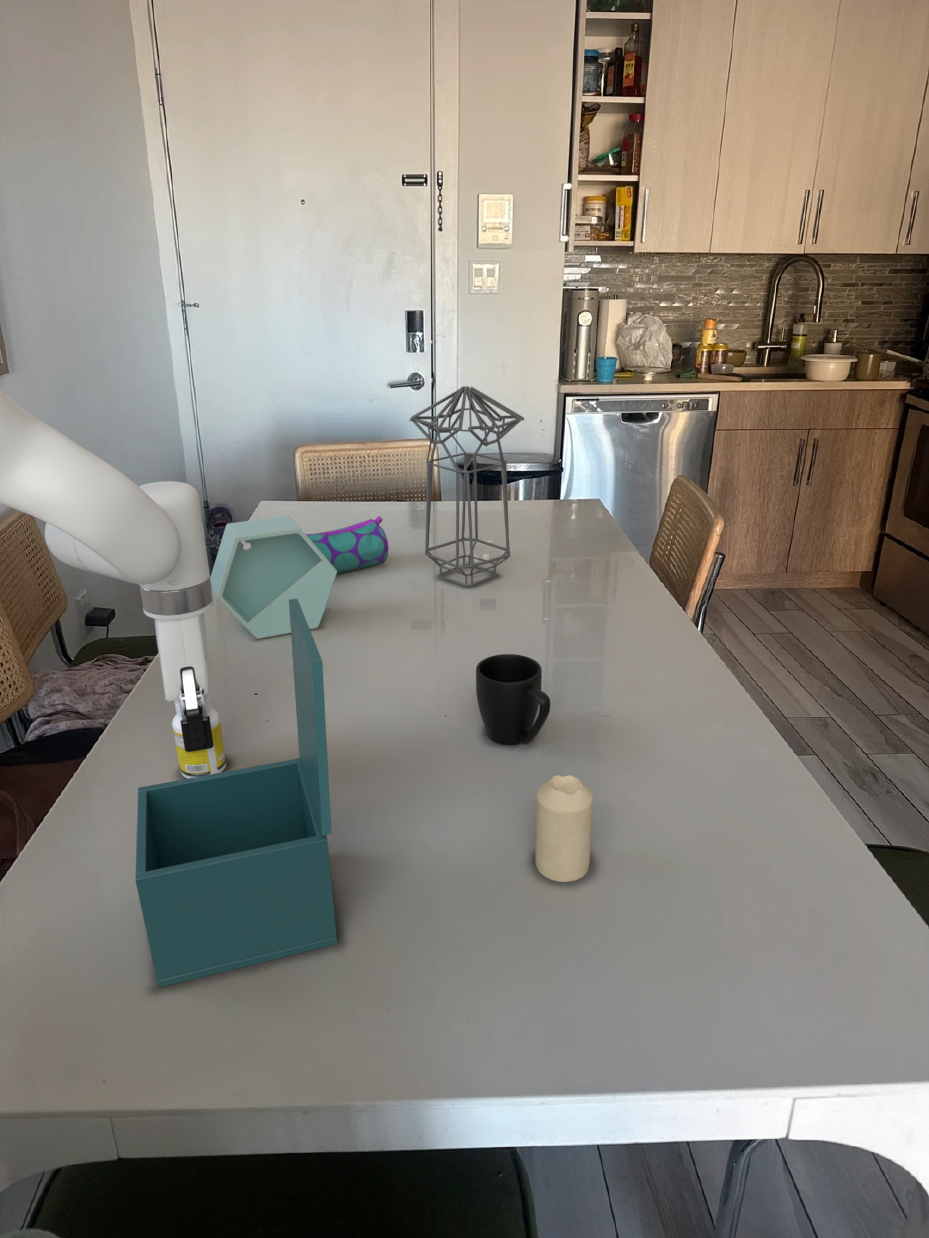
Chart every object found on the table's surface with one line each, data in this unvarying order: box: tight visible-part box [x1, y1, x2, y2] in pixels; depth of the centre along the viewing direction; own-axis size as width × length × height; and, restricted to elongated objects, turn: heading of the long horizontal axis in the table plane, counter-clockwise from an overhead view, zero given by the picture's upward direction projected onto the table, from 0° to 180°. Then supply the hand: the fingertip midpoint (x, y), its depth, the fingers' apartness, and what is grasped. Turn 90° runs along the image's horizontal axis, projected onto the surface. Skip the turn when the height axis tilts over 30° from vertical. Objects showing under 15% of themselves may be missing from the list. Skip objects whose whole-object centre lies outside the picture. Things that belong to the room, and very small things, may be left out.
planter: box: [210, 515, 337, 640], centre depth 141 cm, size 17×8×21 cm
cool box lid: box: [289, 599, 332, 836], centre depth 77 cm, size 16×14×1 cm
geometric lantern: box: [409, 385, 525, 588], centre depth 157 cm, size 16×16×35 cm
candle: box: [534, 774, 594, 883], centre depth 87 cm, size 6×6×10 cm
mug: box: [475, 653, 551, 746], centre depth 109 cm, size 8×12×10 cm
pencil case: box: [305, 515, 389, 575], centre depth 166 cm, size 21×9×10 cm, turn 116°
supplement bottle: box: [171, 691, 227, 779], centre depth 104 cm, size 5×5×10 cm
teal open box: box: [134, 757, 338, 988], centre depth 81 cm, size 16×14×12 cm
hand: (198, 734), depth 104 cm, fingers closed on supplement bottle, 5 cm apart
